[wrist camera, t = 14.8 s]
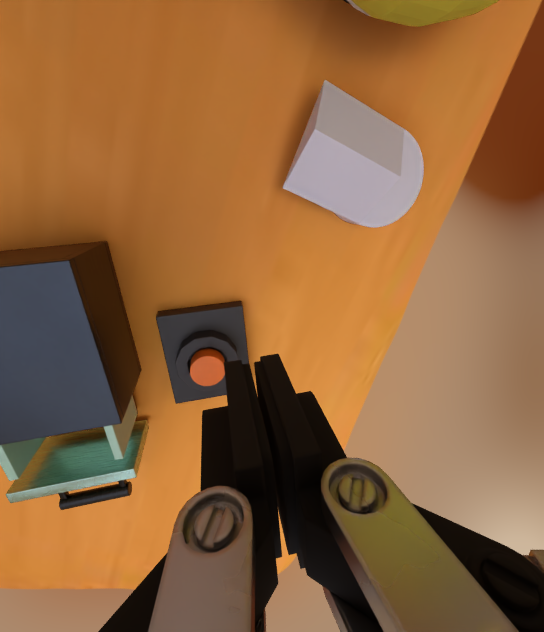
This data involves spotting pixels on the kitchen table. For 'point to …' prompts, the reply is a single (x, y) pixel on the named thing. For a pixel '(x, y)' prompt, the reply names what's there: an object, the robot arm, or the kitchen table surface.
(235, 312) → the control block
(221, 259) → the kitchen table surface
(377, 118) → the wedge on round base
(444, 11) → the toy
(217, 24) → the kitchen table surface
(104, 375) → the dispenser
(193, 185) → the kitchen table surface
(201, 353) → the button
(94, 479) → the tray
